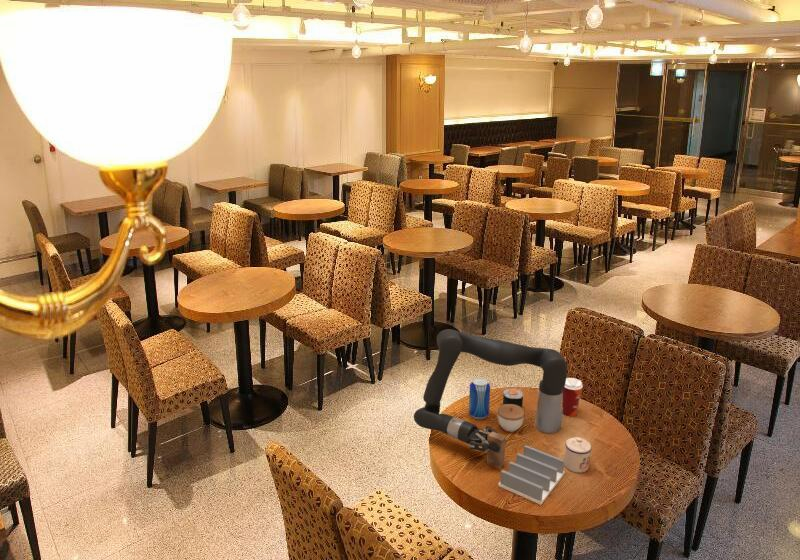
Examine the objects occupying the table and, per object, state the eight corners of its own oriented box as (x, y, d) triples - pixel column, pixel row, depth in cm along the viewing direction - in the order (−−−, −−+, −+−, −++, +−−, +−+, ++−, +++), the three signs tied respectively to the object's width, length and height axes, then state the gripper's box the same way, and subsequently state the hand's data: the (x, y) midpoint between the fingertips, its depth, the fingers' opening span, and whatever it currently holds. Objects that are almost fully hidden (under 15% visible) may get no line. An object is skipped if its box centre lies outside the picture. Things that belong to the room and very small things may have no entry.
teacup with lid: (582, 476, 210) (586, 449, 206) (559, 466, 215) (561, 439, 211) (596, 460, 218) (599, 434, 214) (573, 451, 224) (576, 425, 220)
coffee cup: (580, 419, 244) (583, 387, 239) (559, 417, 246) (563, 385, 241) (578, 408, 252) (582, 377, 247) (558, 406, 254) (561, 376, 249)
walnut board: (486, 462, 217) (488, 435, 213) (490, 458, 220) (492, 431, 216) (500, 468, 214) (501, 440, 210) (503, 464, 216) (505, 436, 212)
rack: (498, 485, 205) (499, 471, 203) (523, 457, 220) (524, 444, 218) (541, 505, 196) (542, 490, 194) (564, 474, 211) (566, 460, 209)
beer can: (489, 420, 244) (491, 386, 238) (469, 420, 244) (471, 386, 239) (487, 409, 252) (489, 376, 246) (467, 409, 252) (469, 376, 247)
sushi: (500, 403, 256) (501, 387, 254) (519, 402, 257) (520, 386, 254) (504, 413, 249) (505, 397, 246) (524, 412, 249) (525, 396, 247)
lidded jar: (521, 437, 233) (523, 416, 230) (494, 432, 236) (495, 411, 233) (524, 422, 242) (526, 402, 239) (498, 418, 246) (500, 398, 242)
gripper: (452, 430, 216) (493, 447, 206) (471, 413, 227) (512, 428, 217) (451, 447, 218) (492, 465, 209) (471, 430, 229) (510, 445, 219)
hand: (502, 446), depth 213 cm, fingers open, 4 cm apart
